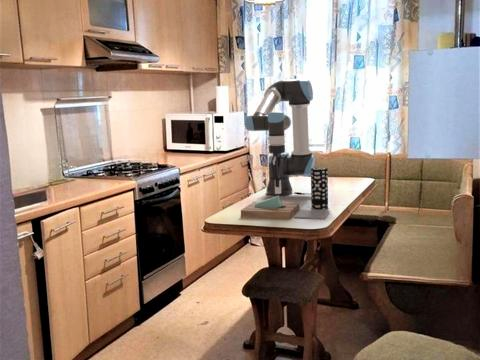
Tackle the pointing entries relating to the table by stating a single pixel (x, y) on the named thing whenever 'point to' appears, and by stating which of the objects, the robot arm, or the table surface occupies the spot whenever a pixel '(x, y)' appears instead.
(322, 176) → the spotted tube
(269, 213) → the pocket board
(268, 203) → the teal bar
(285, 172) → the robot arm
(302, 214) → the felt pad
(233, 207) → the table surface
